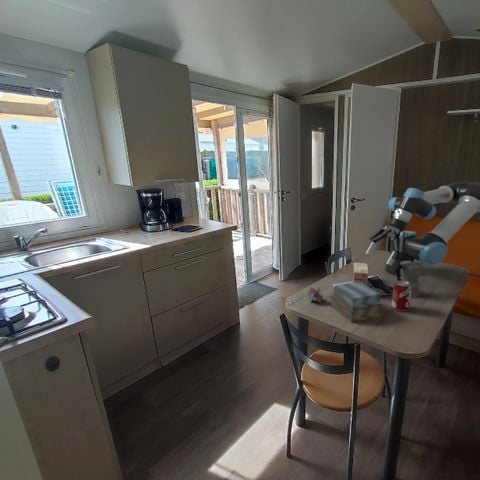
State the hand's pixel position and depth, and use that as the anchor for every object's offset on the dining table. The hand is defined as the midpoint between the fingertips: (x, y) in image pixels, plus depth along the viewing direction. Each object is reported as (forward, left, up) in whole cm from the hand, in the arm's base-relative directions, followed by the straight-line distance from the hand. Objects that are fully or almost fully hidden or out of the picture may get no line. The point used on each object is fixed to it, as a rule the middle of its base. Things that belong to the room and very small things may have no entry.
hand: (377, 259), depth 141 cm
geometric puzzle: (+35, +2, -16) cm, 38 cm away
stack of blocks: (+6, -4, -16) cm, 18 cm away
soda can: (+4, +20, -16) cm, 25 cm away
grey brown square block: (+23, +15, -16) cm, 31 cm away
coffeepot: (-9, +10, -16) cm, 21 cm away
